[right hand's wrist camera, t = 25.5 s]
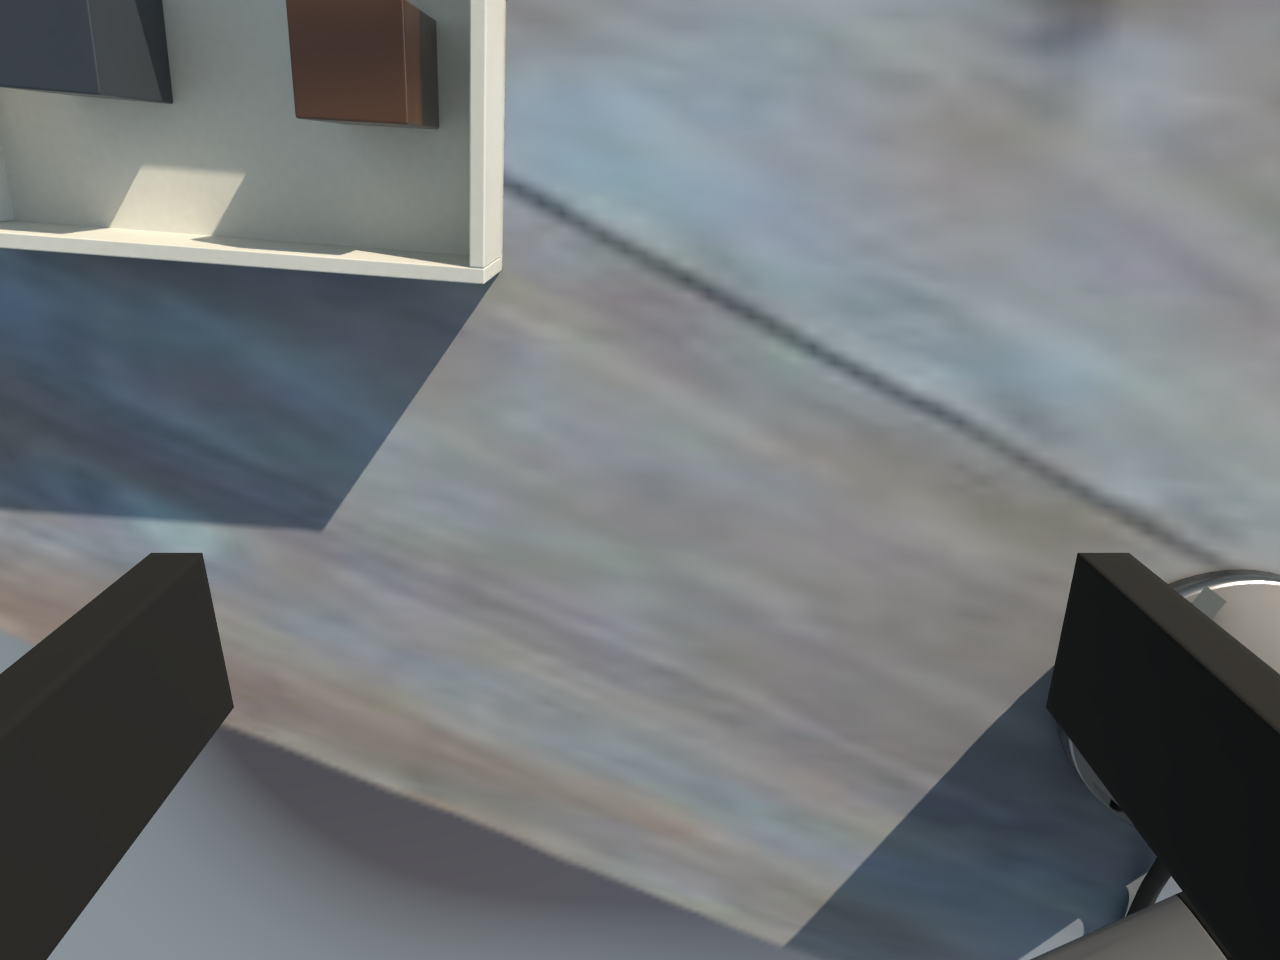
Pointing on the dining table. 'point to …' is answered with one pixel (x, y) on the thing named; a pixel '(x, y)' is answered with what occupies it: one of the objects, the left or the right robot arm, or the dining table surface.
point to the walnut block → (364, 63)
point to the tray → (266, 159)
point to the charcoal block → (86, 48)
